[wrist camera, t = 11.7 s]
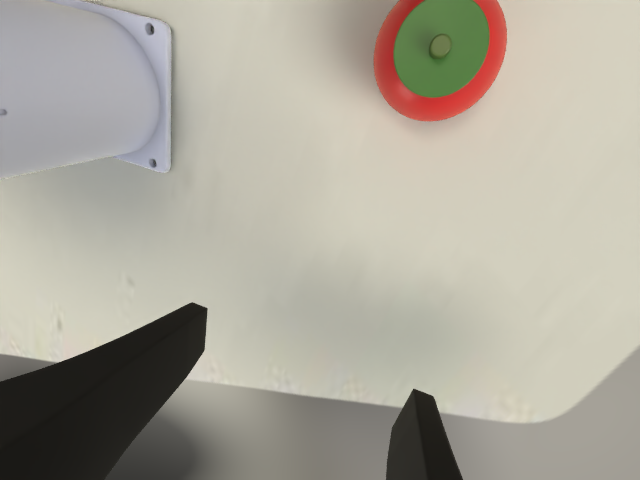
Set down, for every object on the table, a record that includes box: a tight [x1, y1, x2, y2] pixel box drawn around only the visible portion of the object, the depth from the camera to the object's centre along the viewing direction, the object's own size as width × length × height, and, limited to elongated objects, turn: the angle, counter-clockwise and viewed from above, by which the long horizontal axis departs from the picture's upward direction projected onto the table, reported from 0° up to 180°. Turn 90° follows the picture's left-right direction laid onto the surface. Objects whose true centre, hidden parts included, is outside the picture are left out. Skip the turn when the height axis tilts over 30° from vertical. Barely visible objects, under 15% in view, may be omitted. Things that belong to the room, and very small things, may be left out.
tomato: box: [374, 0, 507, 121], centre depth 12 cm, size 5×5×6 cm
